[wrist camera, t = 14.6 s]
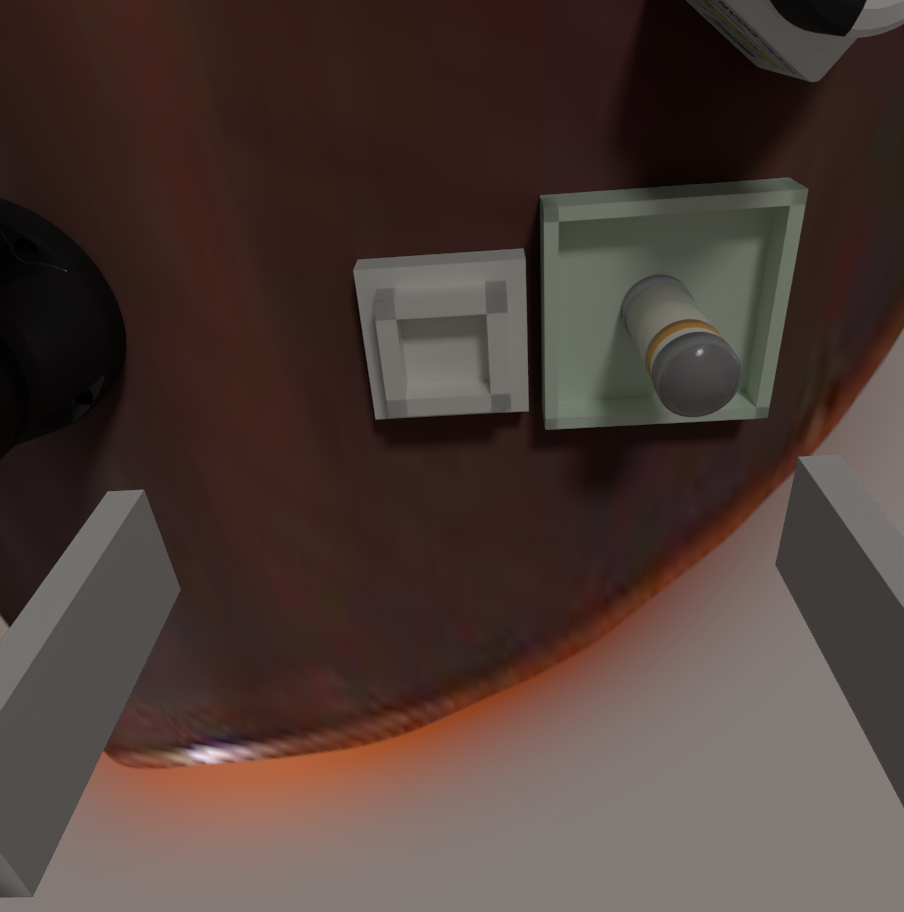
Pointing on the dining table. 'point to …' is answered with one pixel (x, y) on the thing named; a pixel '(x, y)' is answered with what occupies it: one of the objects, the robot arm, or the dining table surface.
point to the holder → (445, 333)
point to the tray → (661, 253)
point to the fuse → (680, 347)
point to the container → (799, 30)
